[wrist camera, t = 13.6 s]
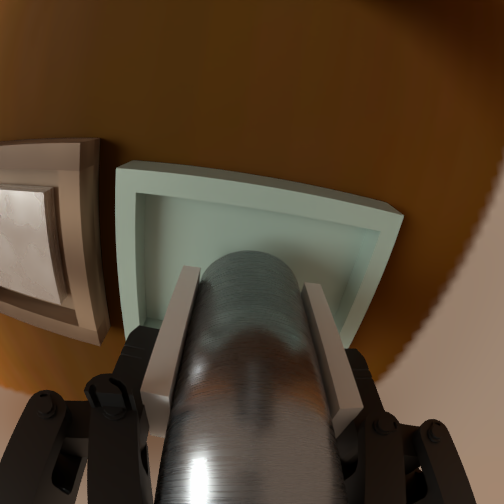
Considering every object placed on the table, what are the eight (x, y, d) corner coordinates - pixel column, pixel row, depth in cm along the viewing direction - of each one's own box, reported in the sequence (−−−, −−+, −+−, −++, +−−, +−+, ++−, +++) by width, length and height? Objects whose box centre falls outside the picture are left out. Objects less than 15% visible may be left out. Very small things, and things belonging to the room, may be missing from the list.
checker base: (-29, 145, 11) (-48, 151, 9) (100, 138, 12) (80, 142, 10) (-6, 291, 16) (-18, 304, 14) (110, 326, 17) (100, 346, 16)
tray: (132, 160, 13) (115, 167, 11) (386, 202, 14) (404, 215, 12) (135, 320, 17) (126, 341, 15) (331, 344, 18) (338, 366, 16)
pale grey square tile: (-18, 183, 12) (-27, 188, 11) (53, 187, 12) (43, 192, 11) (-1, 275, 15) (-8, 282, 14) (67, 295, 15) (60, 304, 14)
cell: (202, 243, 12) (125, 587, 1) (310, 258, 12) (403, 570, 2) (195, 326, 14) (157, 573, 3) (286, 336, 14) (315, 575, 4)
